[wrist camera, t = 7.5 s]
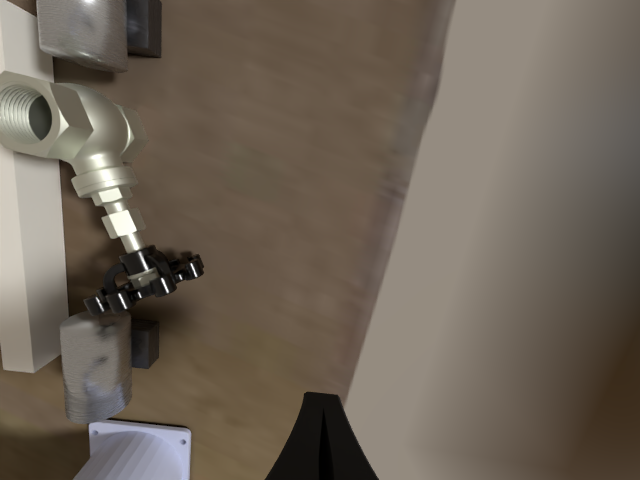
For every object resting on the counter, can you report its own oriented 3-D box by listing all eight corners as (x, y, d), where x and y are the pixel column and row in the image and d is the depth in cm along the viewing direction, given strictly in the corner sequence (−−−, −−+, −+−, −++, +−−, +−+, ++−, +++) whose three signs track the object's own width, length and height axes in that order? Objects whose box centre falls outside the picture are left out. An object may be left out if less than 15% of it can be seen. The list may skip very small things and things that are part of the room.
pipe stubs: (158, 374, 23) (115, 427, 18) (101, 368, 23) (43, 419, 18) (161, -27, 18) (100, -105, 13) (85, -38, 17) (-6, -120, 13)
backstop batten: (70, 347, 23) (33, 373, 20) (44, 344, 23) (3, 369, 20) (50, 24, 18) (-2, -5, 15) (16, 20, 18) (-42, -10, 15)
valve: (60, 116, 19) (137, 283, 22) (-69, 88, 13) (60, 330, 15) (154, 85, 19) (221, 259, 21) (68, 39, 12) (178, 296, 15)
